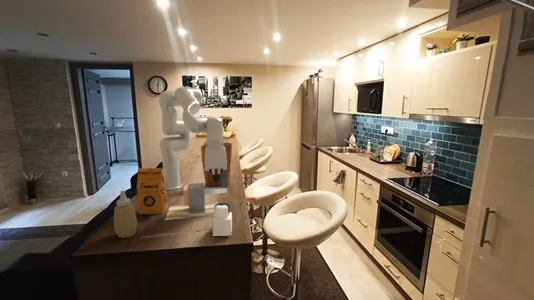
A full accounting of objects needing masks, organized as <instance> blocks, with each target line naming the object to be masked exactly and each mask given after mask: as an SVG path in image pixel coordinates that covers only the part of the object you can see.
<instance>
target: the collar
mask: <svg viewBox="0 0 534 300" xmlns="http://www.w3.org/2000/svg"><path fill="white" fill-rule="evenodd" d="M188 187H189V184H186V185H183V205H184V206H188V205H189V197H188Z"/></svg>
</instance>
